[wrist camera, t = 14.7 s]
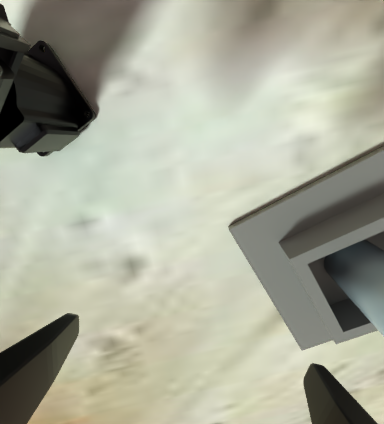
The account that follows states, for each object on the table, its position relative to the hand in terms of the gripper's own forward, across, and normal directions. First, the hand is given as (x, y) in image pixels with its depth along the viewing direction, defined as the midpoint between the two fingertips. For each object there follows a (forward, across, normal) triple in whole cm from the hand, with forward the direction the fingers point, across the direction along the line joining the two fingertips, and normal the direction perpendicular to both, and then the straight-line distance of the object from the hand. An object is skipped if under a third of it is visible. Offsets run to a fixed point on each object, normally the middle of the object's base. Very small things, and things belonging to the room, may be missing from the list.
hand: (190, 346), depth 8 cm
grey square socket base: (+13, -14, +1) cm, 19 cm away
